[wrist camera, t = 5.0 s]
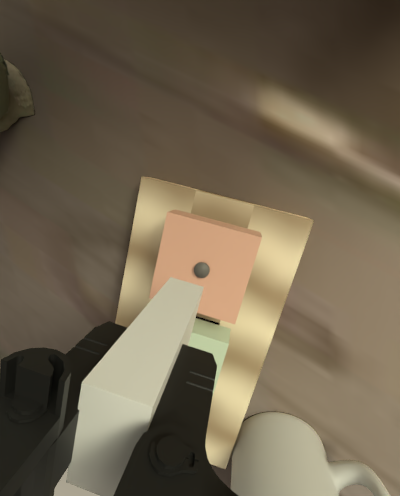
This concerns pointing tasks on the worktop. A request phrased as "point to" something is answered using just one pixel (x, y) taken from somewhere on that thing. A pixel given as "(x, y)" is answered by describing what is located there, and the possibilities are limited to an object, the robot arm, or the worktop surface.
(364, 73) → the worktop surface
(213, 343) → the sage tile
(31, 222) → the worktop surface
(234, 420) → the board
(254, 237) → the terracotta tile
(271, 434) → the mug
